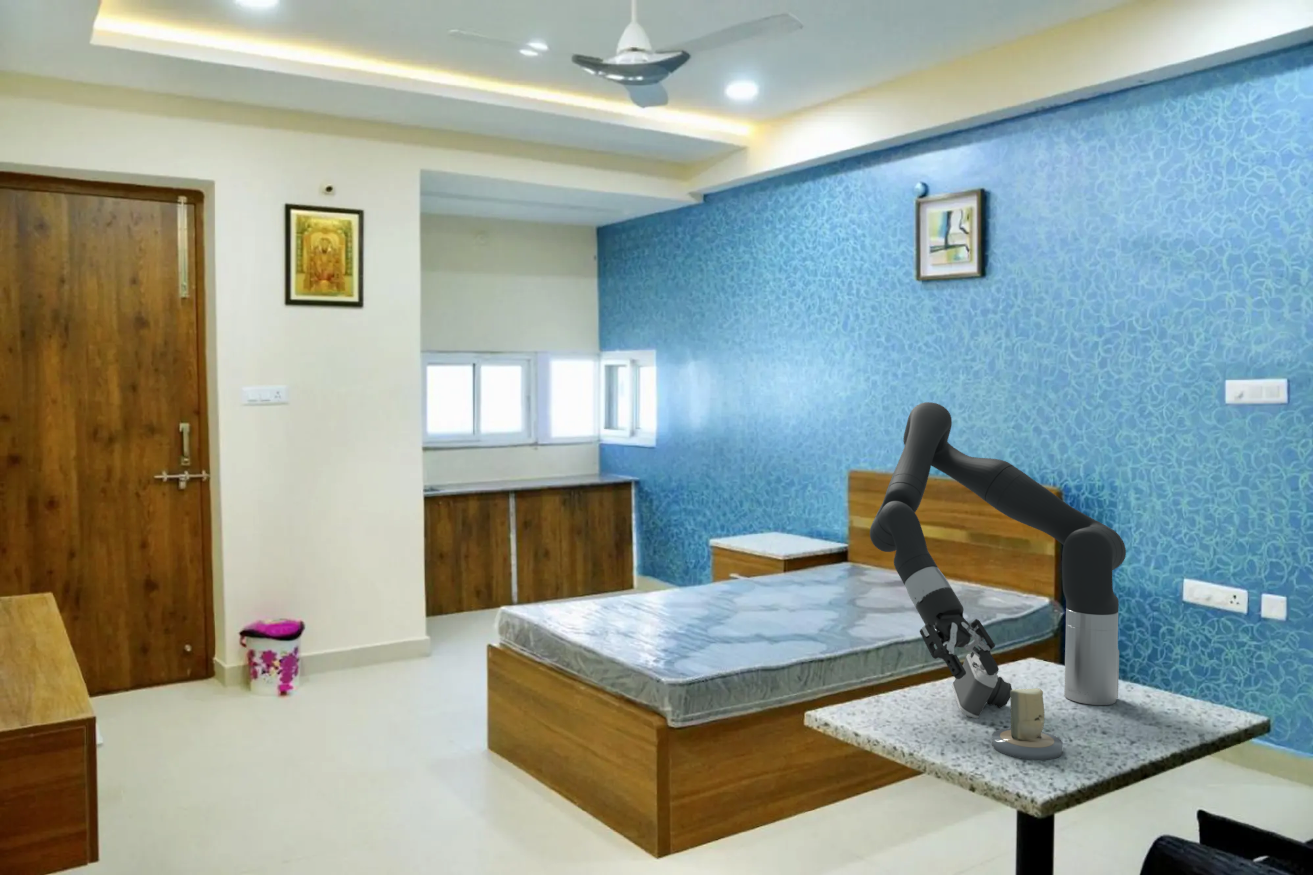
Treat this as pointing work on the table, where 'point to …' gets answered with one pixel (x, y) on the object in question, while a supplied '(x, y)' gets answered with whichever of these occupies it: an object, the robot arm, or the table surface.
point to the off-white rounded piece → (1027, 714)
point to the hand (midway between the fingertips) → (978, 674)
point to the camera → (979, 688)
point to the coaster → (1027, 746)
